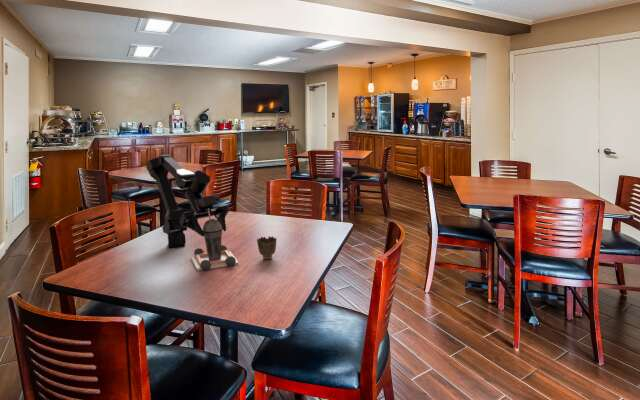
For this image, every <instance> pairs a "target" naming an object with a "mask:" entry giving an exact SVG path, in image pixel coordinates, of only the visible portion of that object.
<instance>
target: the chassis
mask: <svg viewBox="0 0 640 400" xmlns="http://www.w3.org/2000/svg"><path fill="white" fill-rule="evenodd" d="M193 254H194V256H191V257H190V258H191V261H192V263H193V265H194V267H195V270H196V271H208V270H210V269H215V268H222V267H230V268H231V267H234V266H237V265H239V263H240V262H239V261H238V260H237V258H236V257H235V256H234V254H233V253H232V252H231V251H229V250H228V248H227V247H226V245H224V244H221V259H220V260H217V261H209V258H208V254H207V252H205V251H204V250H203V248H201V247H198V248H196V249H194V251H193Z"/></svg>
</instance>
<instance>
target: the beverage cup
mask: <svg viewBox="0 0 640 400" xmlns="http://www.w3.org/2000/svg"><path fill="white" fill-rule="evenodd" d="M208 214H209V217H208V219H207V220H206V221H205V222H204V224H203V225H202V230H203V233H204V236H203V237H204V241H205V247H206V253H207V254H208V258H209V261H217V260H220V259H221V245H222V235H223V229H222V226H221V224H220V222H219V221H217V219H216V218H212V216H210V211H209V208H208Z"/></svg>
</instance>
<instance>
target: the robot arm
mask: <svg viewBox="0 0 640 400" xmlns="http://www.w3.org/2000/svg"><path fill="white" fill-rule="evenodd" d="M145 168H146V170H147V172H148V174H149V176H150V177H151V178H152V179H154V181H156V184H157V187H158V190H159V193H160V196H161V199H162V202H163V205H164V208H165V211H166V212H165V217H164V221H165V222H164V223H163V226H162V232H163V233H164V234H167V246H168V248H169V249H174V248H182V247H185V246H186V242H187V241H186V233H184V232H185V231H188V229H190V230H192V231H194V232H195V233H196V234H198V235H199V236H201V237H204V233H203V228H202V227H201V225H200V223H199V220H198V219H203V218H209V214H208V208H209V211H210V217H214V219H216V220H217V221H219V222H220V224H221V226H222V232H223V231H224V232H226V231H227V225H226V217H227V215H228V213H229V212H230V211H231V210H230V209H231V208H230V207H229V206H228V205H227V204H223V205H222V204H221V205H218V206H217V207H216V208H215V209H214V210H212V209H213V208H214V205H216V204H217V203H218V202H220V196H219V194H218V193H212V194H211V195H207V196H205V195H204V194H203V193H204V192H205V191H206V189H207V188H208V186H209V184H210V182H211V177H210V175H208V174H207V173H205V172H202V169H201V170H200V169H199V170H196V171H195V172H192V171H191V170H187V169H184V168H183V167H182V166H181V165H180V164H179V163H178V162H177V161H176V160H175V159H174V158H173V156H172V154H171V155H170V154H161V155H158V156H157V157H156V158H152V159H149V160H148V161H147V162H146V164H145ZM169 173H170V174H171V176H172V177H174V179H175V182H174V183H175V184H176V186H177V187H178V189H180V190H185V189H186V191H185V194H184V199H188V200H187V201H189V203H190V209H191V210H188V211H185V210H184V208H180V207H178V203H177V200H176V197H175V195H174V192H173V189H172V186H171V184H170V180H169V177H168V176H169Z"/></svg>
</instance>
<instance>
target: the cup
mask: <svg viewBox="0 0 640 400" xmlns="http://www.w3.org/2000/svg"><path fill="white" fill-rule="evenodd" d="M256 243H257V247H258V248H257V249H258V252H259V254H260V255H261V256H262V259H263V260H266V261H269V260H271V259H273V255H274V254H275V253H276V249H277V238H276V237H274V236H270V235H269V236H268V237H267V238H266V236H261V237H258V238H256Z"/></svg>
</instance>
